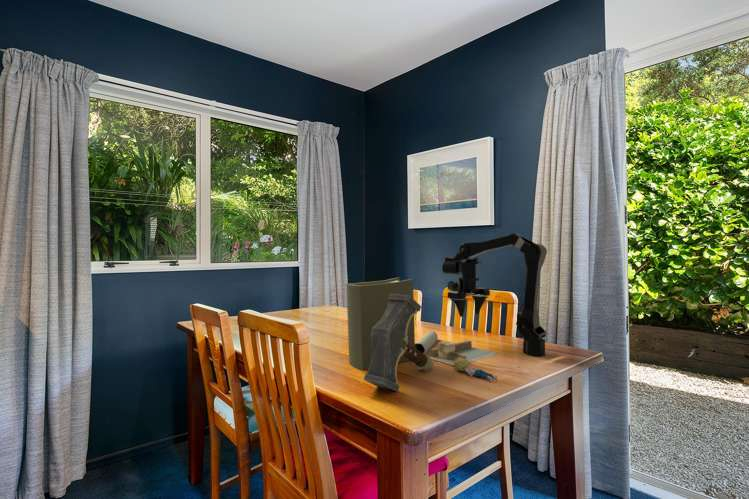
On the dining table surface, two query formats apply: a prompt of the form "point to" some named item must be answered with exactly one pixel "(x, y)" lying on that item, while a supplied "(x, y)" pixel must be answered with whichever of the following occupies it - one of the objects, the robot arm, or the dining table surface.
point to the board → (463, 353)
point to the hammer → (394, 343)
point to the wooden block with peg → (448, 350)
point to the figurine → (471, 369)
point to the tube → (427, 341)
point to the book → (371, 315)
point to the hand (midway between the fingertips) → (469, 315)
